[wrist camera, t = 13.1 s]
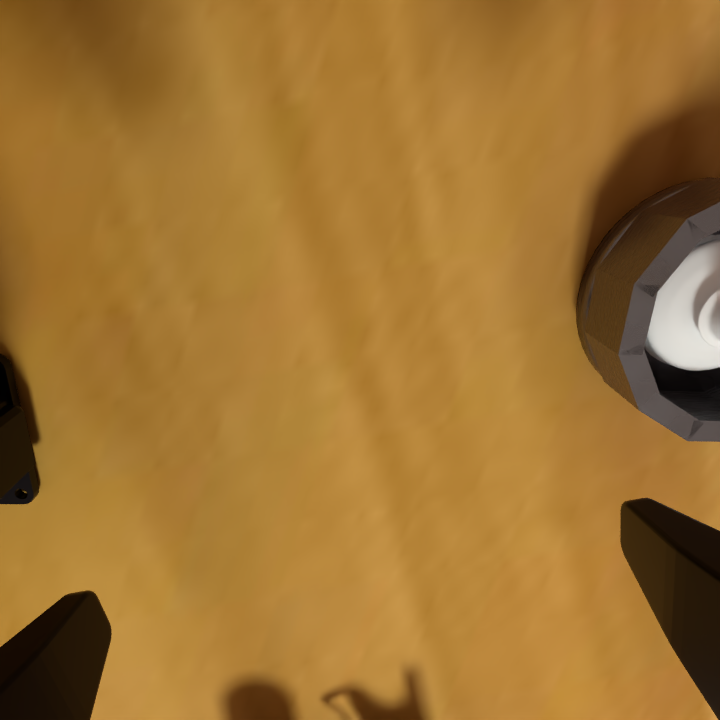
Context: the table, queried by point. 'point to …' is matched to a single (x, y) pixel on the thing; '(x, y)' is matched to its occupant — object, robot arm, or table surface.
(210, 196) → the table surface
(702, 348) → the chess piece
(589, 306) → the mount
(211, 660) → the table surface
